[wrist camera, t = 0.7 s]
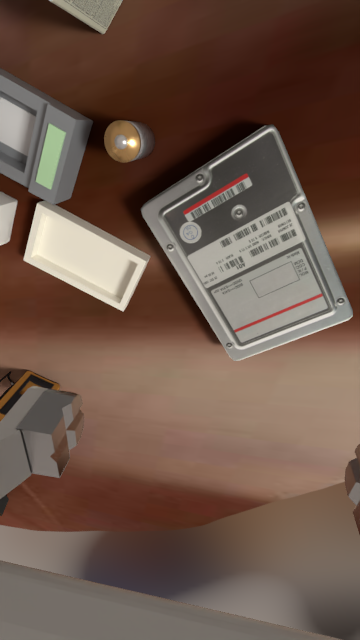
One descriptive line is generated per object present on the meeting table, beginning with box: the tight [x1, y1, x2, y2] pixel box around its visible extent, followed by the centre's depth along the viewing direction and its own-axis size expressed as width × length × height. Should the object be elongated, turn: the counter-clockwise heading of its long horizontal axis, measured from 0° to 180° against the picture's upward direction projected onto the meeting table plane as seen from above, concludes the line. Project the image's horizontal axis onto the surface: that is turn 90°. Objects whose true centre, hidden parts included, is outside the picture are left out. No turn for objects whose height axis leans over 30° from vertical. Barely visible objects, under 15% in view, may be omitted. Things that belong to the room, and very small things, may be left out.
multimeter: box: [0, 371, 60, 421], centre depth 59 cm, size 15×10×20 cm
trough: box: [24, 201, 151, 311], centre depth 50 cm, size 10×17×2 cm, turn 63°
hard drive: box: [141, 125, 353, 361], centre depth 45 cm, size 18×27×4 cm
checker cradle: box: [0, 68, 93, 205], centre depth 41 cm, size 10×14×5 cm
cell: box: [104, 120, 155, 162], centre depth 38 cm, size 4×4×8 cm
